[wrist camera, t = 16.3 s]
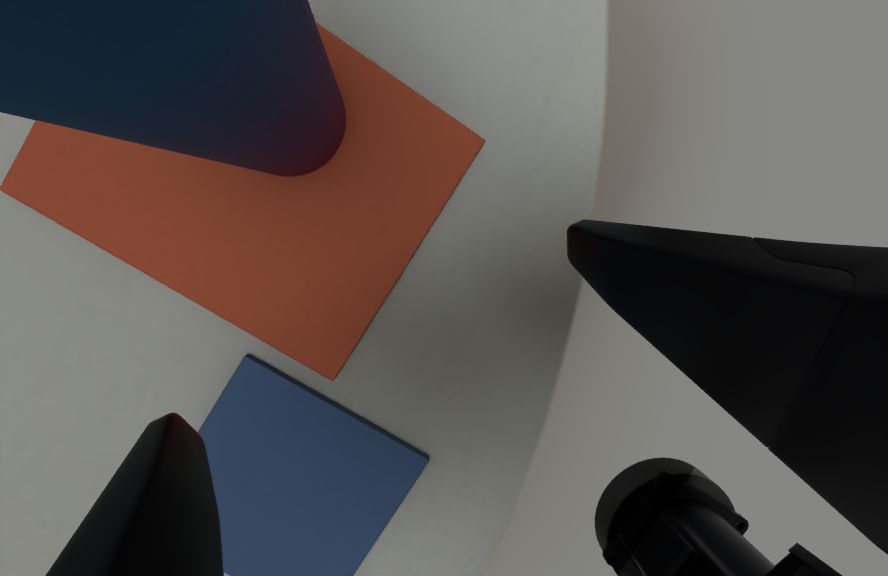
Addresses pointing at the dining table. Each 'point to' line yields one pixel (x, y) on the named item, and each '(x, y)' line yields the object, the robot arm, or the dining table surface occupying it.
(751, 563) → the robot arm
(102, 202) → the terracotta mat
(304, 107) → the cup
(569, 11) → the dining table surface
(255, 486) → the blue mat
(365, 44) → the dining table surface
